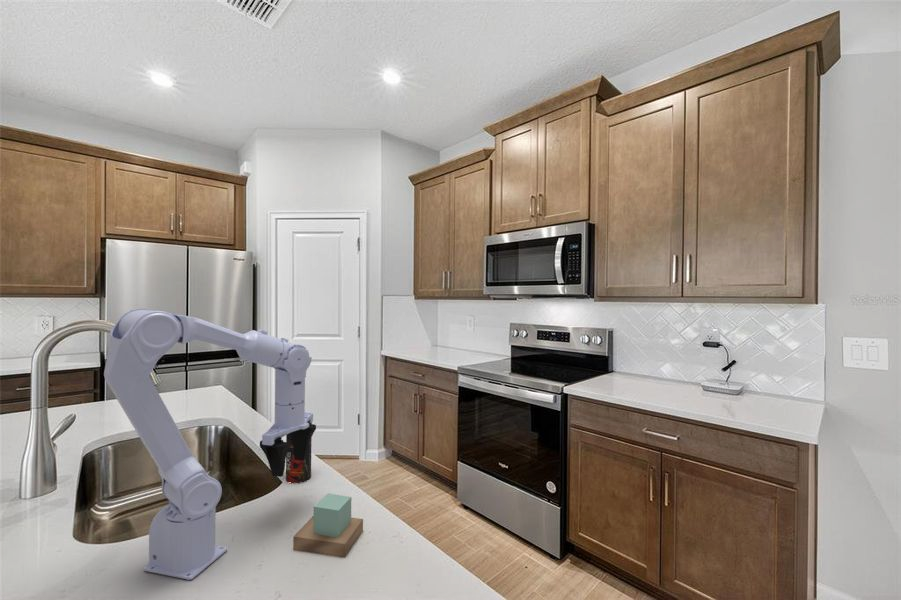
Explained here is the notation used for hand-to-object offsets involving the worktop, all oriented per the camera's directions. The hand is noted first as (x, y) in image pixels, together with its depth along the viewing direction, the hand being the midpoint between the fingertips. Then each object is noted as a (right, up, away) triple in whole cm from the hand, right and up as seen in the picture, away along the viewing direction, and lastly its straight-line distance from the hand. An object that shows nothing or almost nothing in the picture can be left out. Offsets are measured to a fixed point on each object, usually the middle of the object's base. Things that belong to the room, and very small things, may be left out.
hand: (289, 467), depth 83 cm
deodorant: (-5, -10, +18) cm, 21 cm away
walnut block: (+10, -11, -7) cm, 17 cm away
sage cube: (+11, -8, -7) cm, 16 cm away
